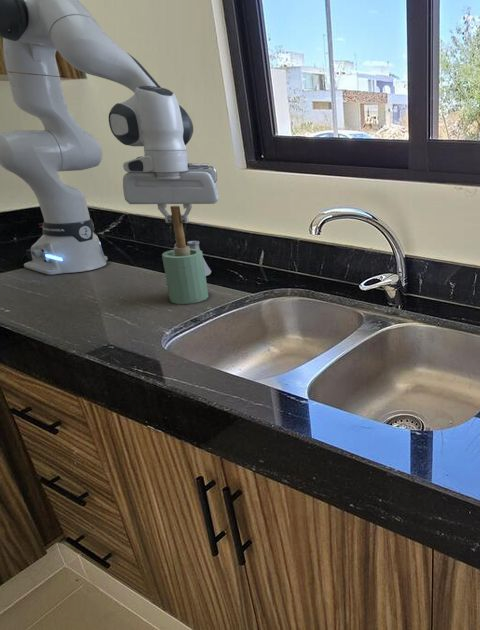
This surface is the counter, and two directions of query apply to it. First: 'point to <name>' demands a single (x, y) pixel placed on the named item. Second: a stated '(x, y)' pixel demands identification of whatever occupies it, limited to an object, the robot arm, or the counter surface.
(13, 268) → the counter surface
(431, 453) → the counter surface
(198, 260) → the jar
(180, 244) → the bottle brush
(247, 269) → the counter surface
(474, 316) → the counter surface
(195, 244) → the flask
